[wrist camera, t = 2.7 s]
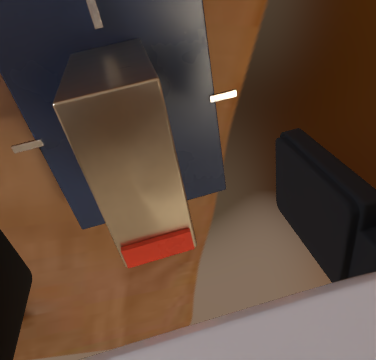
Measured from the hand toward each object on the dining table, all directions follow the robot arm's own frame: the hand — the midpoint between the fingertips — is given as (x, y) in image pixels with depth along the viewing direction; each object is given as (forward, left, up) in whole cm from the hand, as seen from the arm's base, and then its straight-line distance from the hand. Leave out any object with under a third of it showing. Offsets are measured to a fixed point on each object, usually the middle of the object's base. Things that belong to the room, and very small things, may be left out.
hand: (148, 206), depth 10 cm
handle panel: (0, 0, -10) cm, 10 cm away
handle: (0, 0, -7) cm, 7 cm away
